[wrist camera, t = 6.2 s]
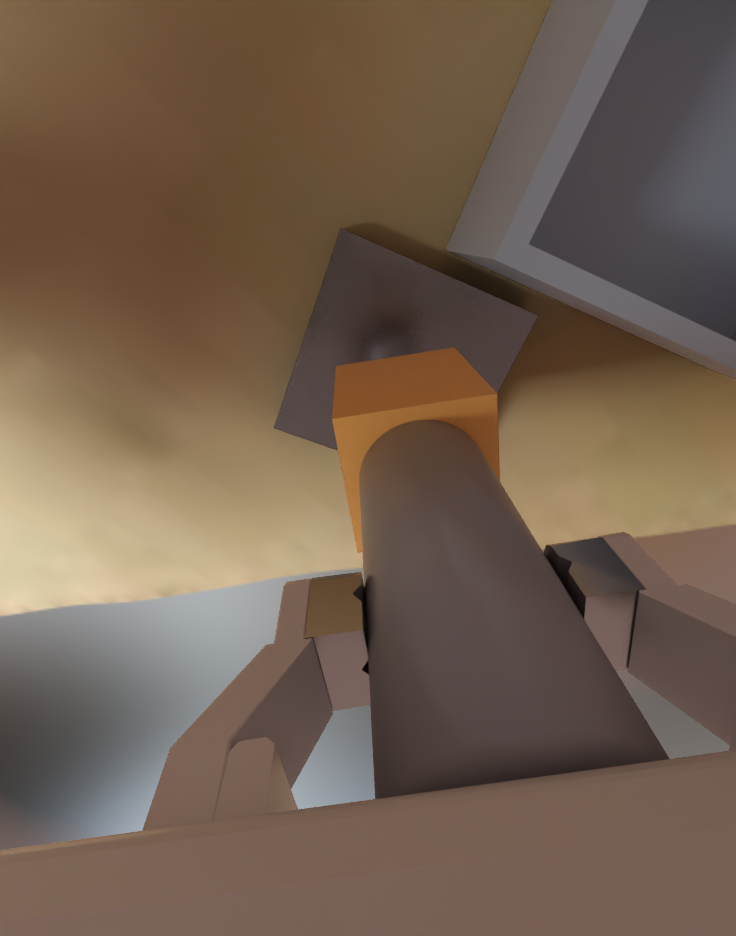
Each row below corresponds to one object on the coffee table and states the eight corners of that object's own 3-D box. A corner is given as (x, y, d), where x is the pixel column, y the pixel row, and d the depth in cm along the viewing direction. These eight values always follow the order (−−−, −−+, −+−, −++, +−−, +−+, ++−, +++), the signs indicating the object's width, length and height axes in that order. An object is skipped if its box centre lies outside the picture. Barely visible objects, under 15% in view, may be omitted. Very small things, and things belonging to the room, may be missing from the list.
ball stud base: (278, 415, 27) (258, 464, 21) (341, 228, 23) (337, 227, 17) (440, 472, 29) (462, 532, 23) (524, 309, 25) (576, 333, 19)
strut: (336, 365, 18) (307, 738, 5) (454, 347, 18) (761, 678, 5) (354, 471, 20) (371, 942, 7) (461, 454, 20) (692, 902, 7)
